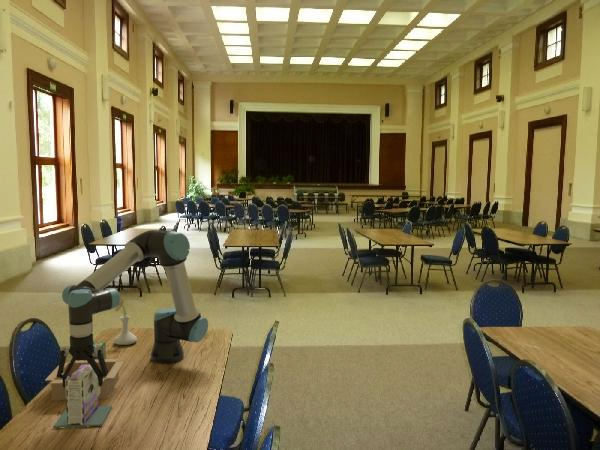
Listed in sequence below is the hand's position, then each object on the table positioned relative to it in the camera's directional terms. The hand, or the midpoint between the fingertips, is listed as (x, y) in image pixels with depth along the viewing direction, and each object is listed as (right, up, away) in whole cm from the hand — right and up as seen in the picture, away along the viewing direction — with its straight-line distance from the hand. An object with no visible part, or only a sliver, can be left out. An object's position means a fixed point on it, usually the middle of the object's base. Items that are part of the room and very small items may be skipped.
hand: (83, 395), depth 180 cm
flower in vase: (-12, 0, +78) cm, 79 cm away
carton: (-9, -6, +24) cm, 26 cm away
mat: (0, -8, +1) cm, 8 cm away
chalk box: (-14, -4, +43) cm, 46 cm away
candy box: (0, -8, +1) cm, 8 cm away
